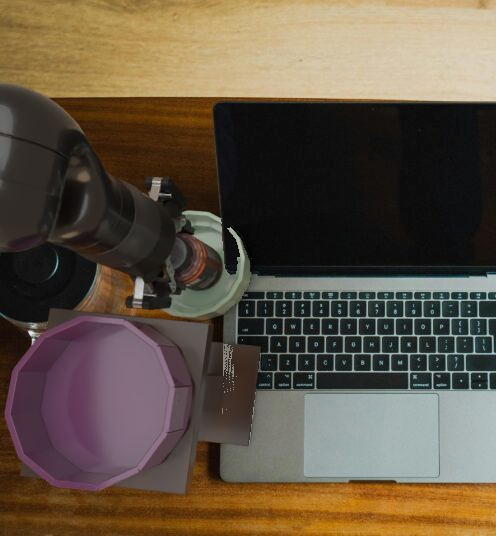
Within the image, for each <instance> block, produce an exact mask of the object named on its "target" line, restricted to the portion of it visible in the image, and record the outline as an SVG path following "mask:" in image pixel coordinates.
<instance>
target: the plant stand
mask: <svg viewBox="0 0 496 536" xmlns="http://www.w3.org/2000/svg"><path fill="white" fill-rule="evenodd" d="M81 315H90V316H101V317H111V318H121V319H128V320H133V321H138V322H143V323H146V324H148V325H149V326H150V327H152V328H153V329H154V330H156V331H158V332H159V333H161V334H162V335H164V336H165V337H166V338H167V339H168V340H169V341H171V342H172V343H173V344H174V345H175V346H177V348H178V349H179V352H180V354H181V356H182V357H183V359H184V362H185V364H186V366H187V369H188V372H189V375H190V380H191V383H192V404H191V411H190V415H189V419H188V422H187V428H185V429H186V430H185V431H184V433H183V434H182V436H181V438H180V439H179V441H178V442H177V444H176V445H175V447H174V448H173V449H172V450H171V451H170V453H169V454H168V455H167V456H166V457H165V459H164V460H163V461H162V463H161V464H159V465H158V466H155V467H153V468H151V469H149V470H147V471H145V472H143V473H140V474H138V475H136V476H134V477H131V478H129V479H127V480H125V481H123V482H120V483H118V484H115V485H112V486H111V487H112V488H113V487H114V488H122V489H130V490H131V489H132V490H139V491H149V492H157V493H166V494H173V495H174V494H175V495H184V496H186V495H187V494H189V493H191V491H192V487H193V479H194V471H195V465H196V464H195V463H196V458H197V452H198V451H197V449H198V444H199V443H198V442H207V443H217V444H225V445H234V446H242V447H243V446H245V447H249V446H250V445H249V440H250V432H251V424H252V415H253V407H254V400H255V392H256V384H257V376H258V369H259V361H260V353H261V348H262V349H263V346H262V345H251V344H243V343H233V344H230V343H231V342H221V341H213V337H214V336H213V335H214V328H215V325H214V324H213V323H208V322H200V321H199V322H198V321H188V320H180V319H179V320H178V319H167V318H157V317H147V316H137V315H126V314H117V313H107V312H98V311H97V312H96V311H87V310H76V309H66V308H54V307H50V308H49V313H48V318H47V322H46V323H47V324H46V330H45V331H47V330H50V329H52V328H54V327H56V326H58V325H61V324H63V323H65V322H67V321H70V320H72V319H74V318H76V317H79V316H81ZM223 343H224V344H225V343H226V344H227V343H228V345H227V347H228V346H229V345H231V346H230V350H231V351H232V349H233V352H232V359H231V372H232V370H233V369H232V367H233V366H234V377H232V375H233V374H232V373H231V372H230V375H229V374H228V373H229V368H230V367H229V365H230V364H229V363H230V362H229V360H230V359H228V371H226V369H227V368H226V367H227V365H226V364H227V363H226V364H225V365H226V367H225V368H226V369H225V370H224V376H223ZM232 347H233V348H232ZM228 348H229V347H228ZM231 348H232V349H231ZM224 349H225V346H224ZM224 351H225V350H224ZM231 351H229V358H231V357H230V356H231V354H230V352H231ZM226 352H227V351H226ZM224 354H225V353H224ZM226 355H227V353H226ZM226 358H227V357H226ZM226 358H225V359H226ZM225 362H227V360H226V361H225ZM233 364H234V365H233ZM232 365H233V366H232ZM225 371H226V372H227V374H226V372H225ZM226 375H227V376H226ZM229 376H230V378H229ZM236 376H237V377H236ZM226 378H227V379H226ZM232 378H233V379H232ZM229 379H230V380H229ZM232 381H234V383H233V382H232ZM229 382H230V383H229ZM223 383H224V384H223ZM233 384H234V385H233ZM223 386H224V387H223ZM233 387H234V388H233ZM230 388H231V389H230ZM227 389H228V390H227ZM233 389H234V390H233ZM230 390H231V391H230ZM224 391H225V393H224ZM227 391H228V392H227ZM222 408H223V414H222ZM226 409H227V410H226ZM251 433H252V432H251ZM250 441H251V440H250ZM19 476H20V477H26V478H35V479H43V478H42V477H41V476H40V475H39V474H37V473H36V472H35V471H34V470H33V469H31V468H30V467H29V466H28V465H27V464H25V463H24V462H23V461H22V460H21V467H20V471H19Z"/></svg>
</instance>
